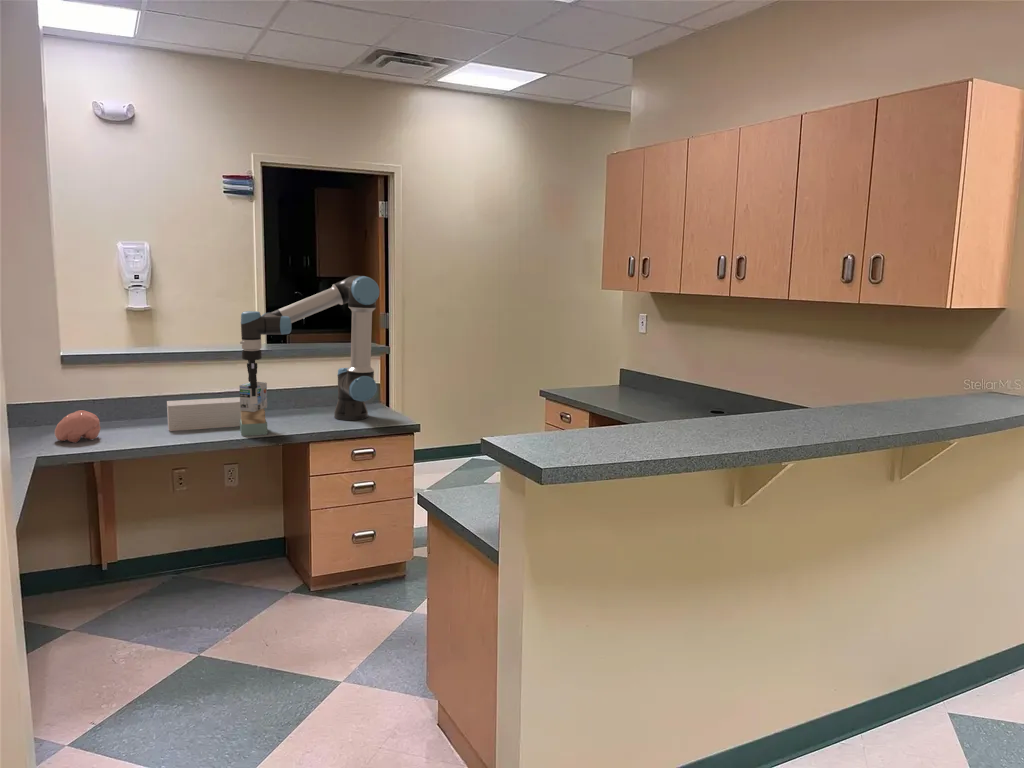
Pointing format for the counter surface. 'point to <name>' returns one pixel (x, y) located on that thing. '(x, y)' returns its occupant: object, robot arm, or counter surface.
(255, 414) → the tower top block
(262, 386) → the light bulb box
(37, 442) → the counter surface
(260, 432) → the tower base slab
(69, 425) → the brain
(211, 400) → the pale grey long block
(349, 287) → the robot arm
